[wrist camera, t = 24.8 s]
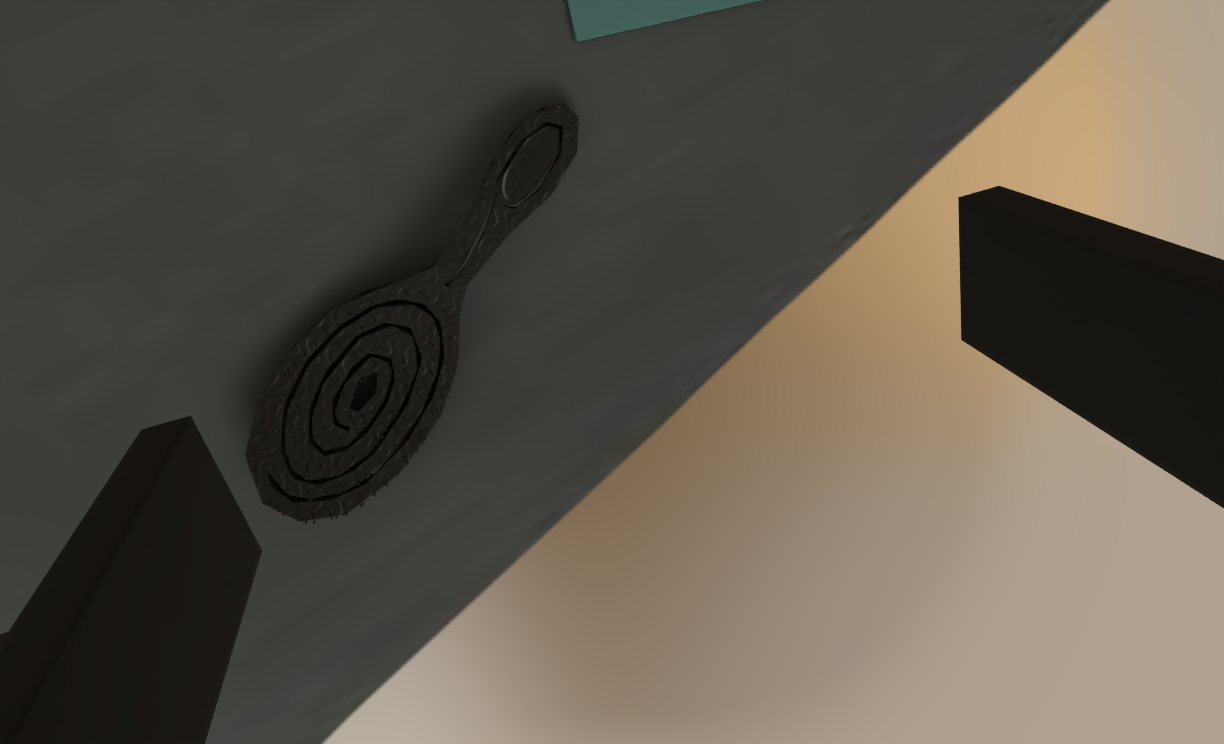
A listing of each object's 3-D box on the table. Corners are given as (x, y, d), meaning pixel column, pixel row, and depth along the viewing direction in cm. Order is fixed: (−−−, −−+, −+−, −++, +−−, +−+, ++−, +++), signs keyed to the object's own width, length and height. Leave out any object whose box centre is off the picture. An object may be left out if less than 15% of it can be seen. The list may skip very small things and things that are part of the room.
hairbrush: (643, 162, 39) (345, 561, 41) (629, 163, 43) (354, 531, 45) (504, 46, 37) (195, 476, 39) (500, 57, 40) (218, 450, 43)
